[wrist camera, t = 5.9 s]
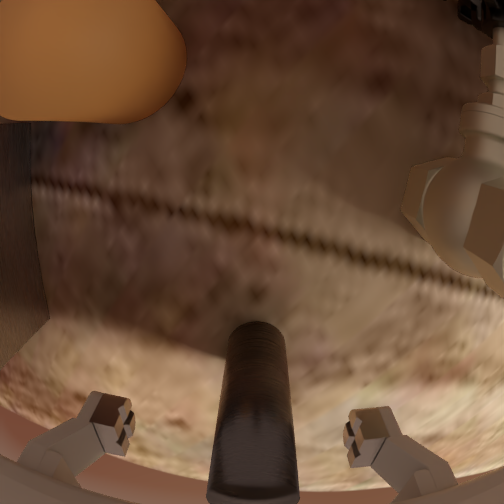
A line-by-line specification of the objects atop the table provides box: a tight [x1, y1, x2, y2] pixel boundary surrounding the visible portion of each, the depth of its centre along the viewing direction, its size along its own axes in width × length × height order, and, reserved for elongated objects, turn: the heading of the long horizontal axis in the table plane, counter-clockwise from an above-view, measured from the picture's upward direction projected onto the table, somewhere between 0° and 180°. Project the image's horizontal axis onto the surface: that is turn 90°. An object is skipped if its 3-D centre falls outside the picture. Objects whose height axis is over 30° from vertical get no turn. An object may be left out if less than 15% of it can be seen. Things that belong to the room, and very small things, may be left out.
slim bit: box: [206, 322, 300, 504], centre depth 11 cm, size 3×3×8 cm
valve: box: [400, 0, 504, 299], centre depth 8 cm, size 7×7×12 cm
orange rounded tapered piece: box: [0, 0, 187, 124], centre depth 8 cm, size 5×5×6 cm
